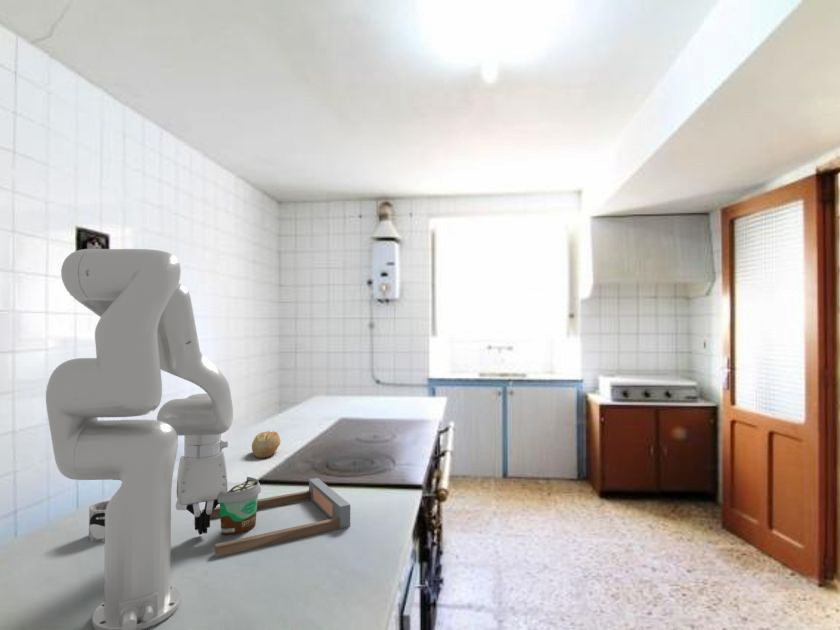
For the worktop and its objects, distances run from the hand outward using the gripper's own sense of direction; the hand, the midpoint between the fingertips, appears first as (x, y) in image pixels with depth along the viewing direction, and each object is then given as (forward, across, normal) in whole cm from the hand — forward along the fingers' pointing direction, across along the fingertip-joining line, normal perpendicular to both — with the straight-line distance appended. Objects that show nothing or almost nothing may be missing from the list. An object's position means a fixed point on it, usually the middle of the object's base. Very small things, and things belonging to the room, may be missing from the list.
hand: (202, 531), depth 108 cm
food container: (+1, -9, 0) cm, 9 cm away
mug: (+1, +17, -12) cm, 21 cm away
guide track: (+1, -15, 0) cm, 15 cm away
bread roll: (+2, -30, -63) cm, 69 cm away
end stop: (+1, -30, 0) cm, 30 cm away
